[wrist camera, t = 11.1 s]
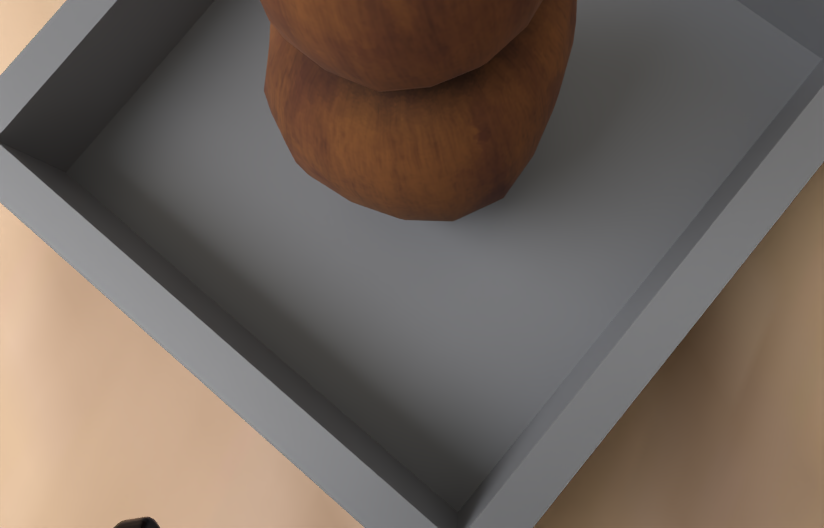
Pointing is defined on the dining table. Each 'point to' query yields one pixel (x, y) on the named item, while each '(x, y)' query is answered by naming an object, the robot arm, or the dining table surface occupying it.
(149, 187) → the box
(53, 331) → the dining table surface
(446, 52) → the wooden figurine
